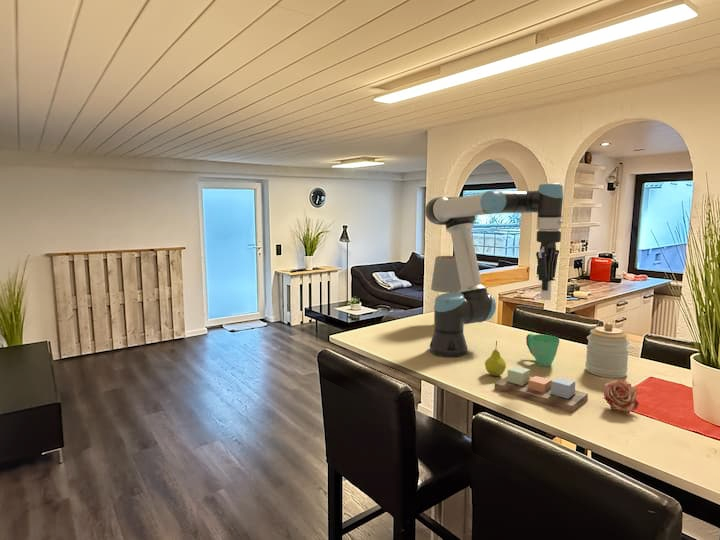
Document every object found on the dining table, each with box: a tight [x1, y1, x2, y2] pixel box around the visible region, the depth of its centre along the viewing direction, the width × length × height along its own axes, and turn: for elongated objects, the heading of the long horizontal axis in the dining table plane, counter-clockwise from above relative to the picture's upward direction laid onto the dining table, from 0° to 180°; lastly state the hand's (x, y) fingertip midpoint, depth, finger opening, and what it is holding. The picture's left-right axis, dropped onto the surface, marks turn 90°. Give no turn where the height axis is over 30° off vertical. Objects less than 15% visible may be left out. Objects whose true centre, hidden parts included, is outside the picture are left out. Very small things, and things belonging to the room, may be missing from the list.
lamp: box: [430, 255, 461, 293], centre depth 222 cm, size 19×19×34 cm
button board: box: [494, 376, 589, 413], centre depth 138 cm, size 24×12×2 cm, turn 44°
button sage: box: [506, 365, 531, 387], centre depth 142 cm, size 5×5×4 cm
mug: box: [525, 333, 560, 367], centre depth 167 cm, size 15×10×10 cm
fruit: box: [484, 340, 507, 377], centre depth 153 cm, size 7×7×12 cm
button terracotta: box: [528, 375, 553, 393], centre depth 138 cm, size 5×5×4 cm
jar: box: [585, 322, 630, 379], centre depth 155 cm, size 13×13×18 cm
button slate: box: [551, 376, 576, 400], centre depth 132 cm, size 5×5×4 cm
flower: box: [602, 378, 640, 415], centre depth 127 cm, size 10×9×8 cm
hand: (545, 299), depth 152 cm, fingers closed
